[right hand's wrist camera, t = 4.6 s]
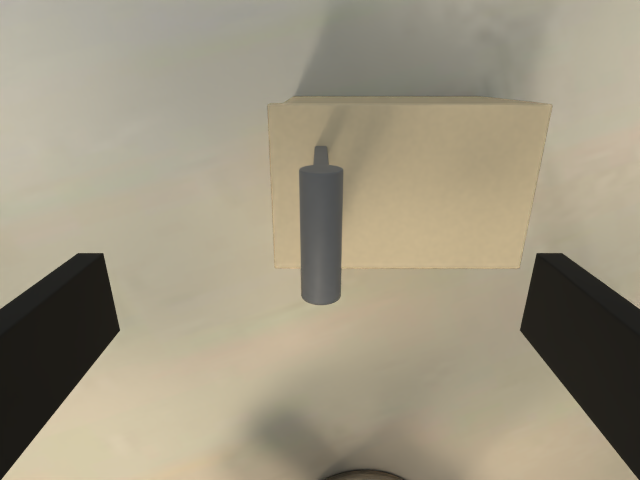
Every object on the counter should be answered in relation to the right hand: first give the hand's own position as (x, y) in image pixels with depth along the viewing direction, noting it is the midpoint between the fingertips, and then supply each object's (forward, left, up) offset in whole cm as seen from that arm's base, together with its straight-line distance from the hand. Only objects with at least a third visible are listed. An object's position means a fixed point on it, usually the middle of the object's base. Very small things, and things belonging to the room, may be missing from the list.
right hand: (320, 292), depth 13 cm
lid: (+3, -4, -13) cm, 14 cm away
